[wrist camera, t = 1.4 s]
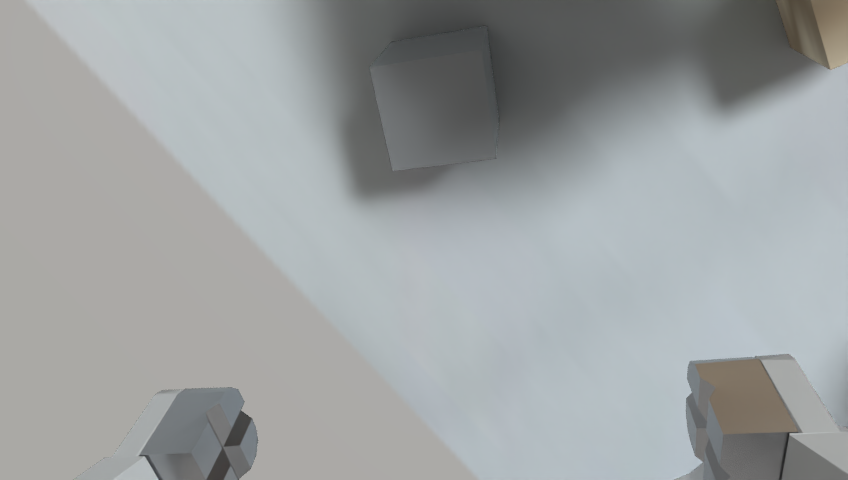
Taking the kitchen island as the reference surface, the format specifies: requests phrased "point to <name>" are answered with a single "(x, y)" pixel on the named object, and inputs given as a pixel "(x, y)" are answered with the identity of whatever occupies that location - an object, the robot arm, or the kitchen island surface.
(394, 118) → the grey block
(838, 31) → the beech block
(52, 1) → the kitchen island surface
